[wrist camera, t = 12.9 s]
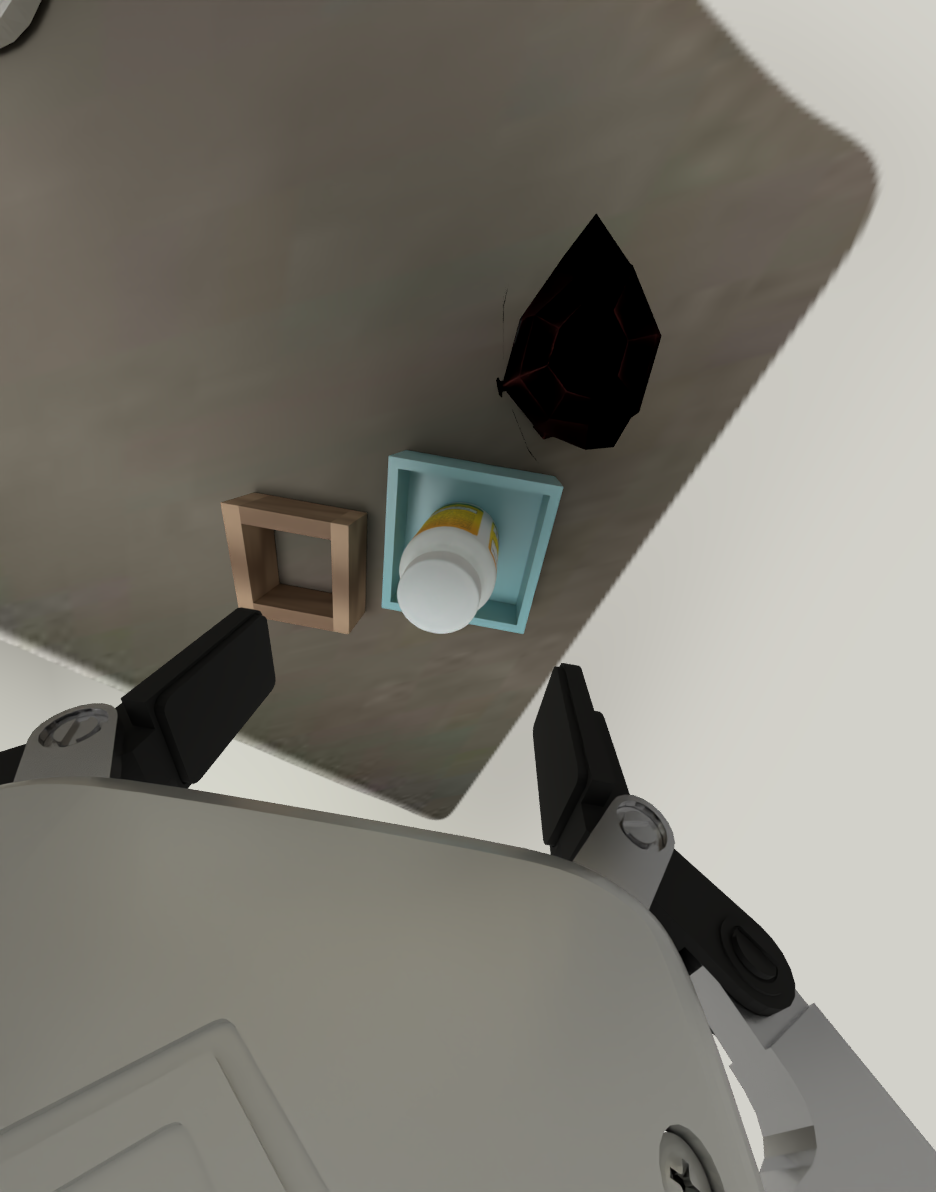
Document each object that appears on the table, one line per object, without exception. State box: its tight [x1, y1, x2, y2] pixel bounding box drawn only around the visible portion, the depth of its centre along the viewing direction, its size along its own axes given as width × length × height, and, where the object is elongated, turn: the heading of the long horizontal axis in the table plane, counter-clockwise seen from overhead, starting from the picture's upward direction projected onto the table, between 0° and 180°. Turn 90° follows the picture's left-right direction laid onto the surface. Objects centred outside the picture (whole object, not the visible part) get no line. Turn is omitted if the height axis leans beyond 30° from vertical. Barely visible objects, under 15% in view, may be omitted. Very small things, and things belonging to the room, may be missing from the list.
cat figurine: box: [496, 214, 661, 460], centre depth 16 cm, size 7×7×12 cm
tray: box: [382, 450, 563, 634], centre depth 24 cm, size 10×10×4 cm
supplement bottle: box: [397, 502, 499, 634], centre depth 21 cm, size 5×5×10 cm
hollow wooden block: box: [221, 492, 367, 634], centre depth 27 cm, size 9×9×4 cm
